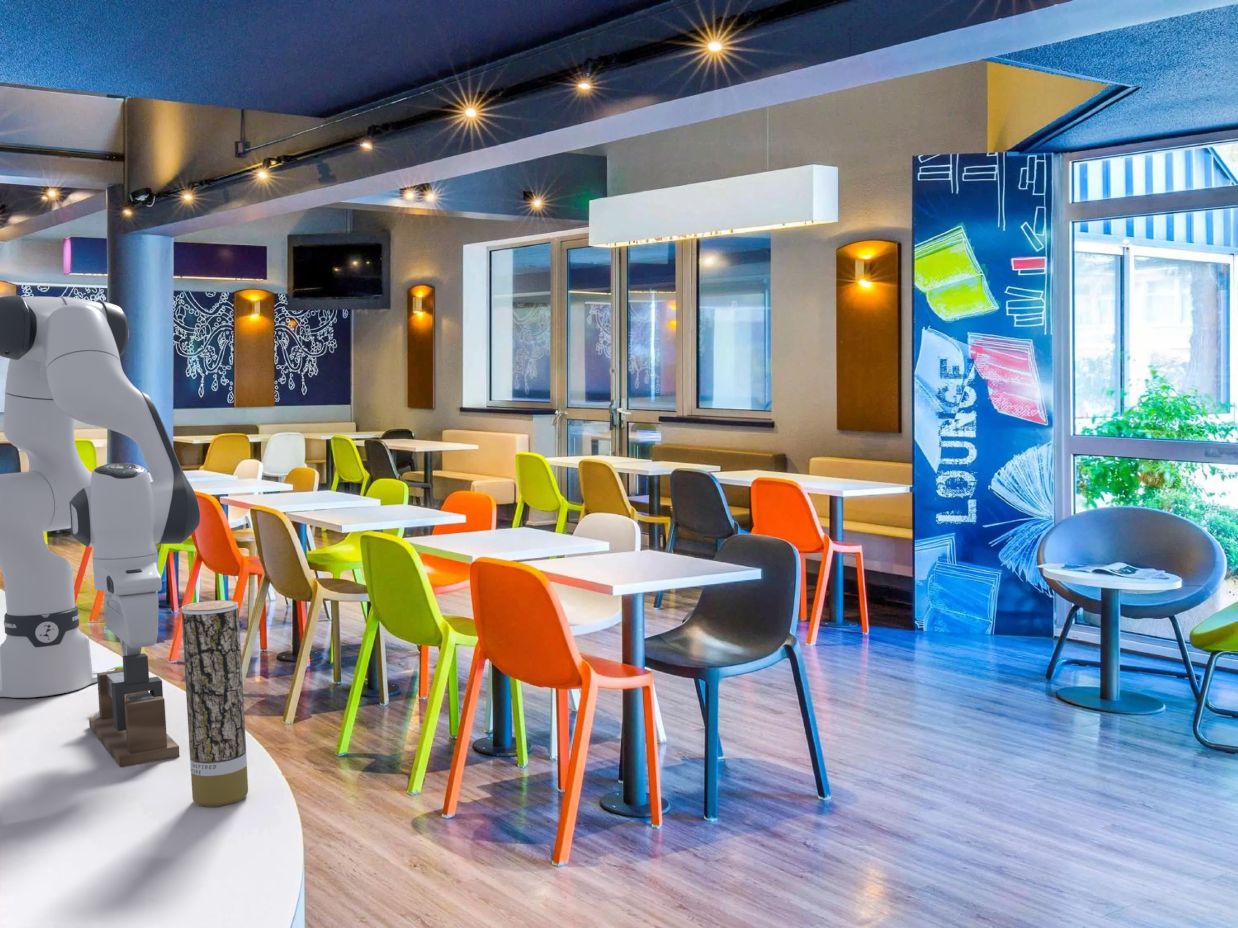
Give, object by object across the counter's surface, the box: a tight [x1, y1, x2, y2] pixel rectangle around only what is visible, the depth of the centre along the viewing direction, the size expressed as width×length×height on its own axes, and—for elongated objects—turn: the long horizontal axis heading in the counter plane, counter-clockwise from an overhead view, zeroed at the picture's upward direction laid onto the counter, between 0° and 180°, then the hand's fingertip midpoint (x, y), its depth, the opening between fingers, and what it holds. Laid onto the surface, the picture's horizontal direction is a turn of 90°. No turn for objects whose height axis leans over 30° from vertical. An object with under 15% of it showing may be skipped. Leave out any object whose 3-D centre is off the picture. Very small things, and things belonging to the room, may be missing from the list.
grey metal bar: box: [106, 671, 155, 702], centre depth 180 cm, size 22×3×3 cm, turn 33°
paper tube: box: [181, 599, 249, 808], centre depth 152 cm, size 7×7×25 cm
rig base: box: [88, 669, 180, 768], centre depth 180 cm, size 25×8×8 cm, turn 33°
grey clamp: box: [111, 652, 164, 732], centre depth 175 cm, size 3×6×10 cm, turn 123°
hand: (132, 667), depth 177 cm, fingers closed
